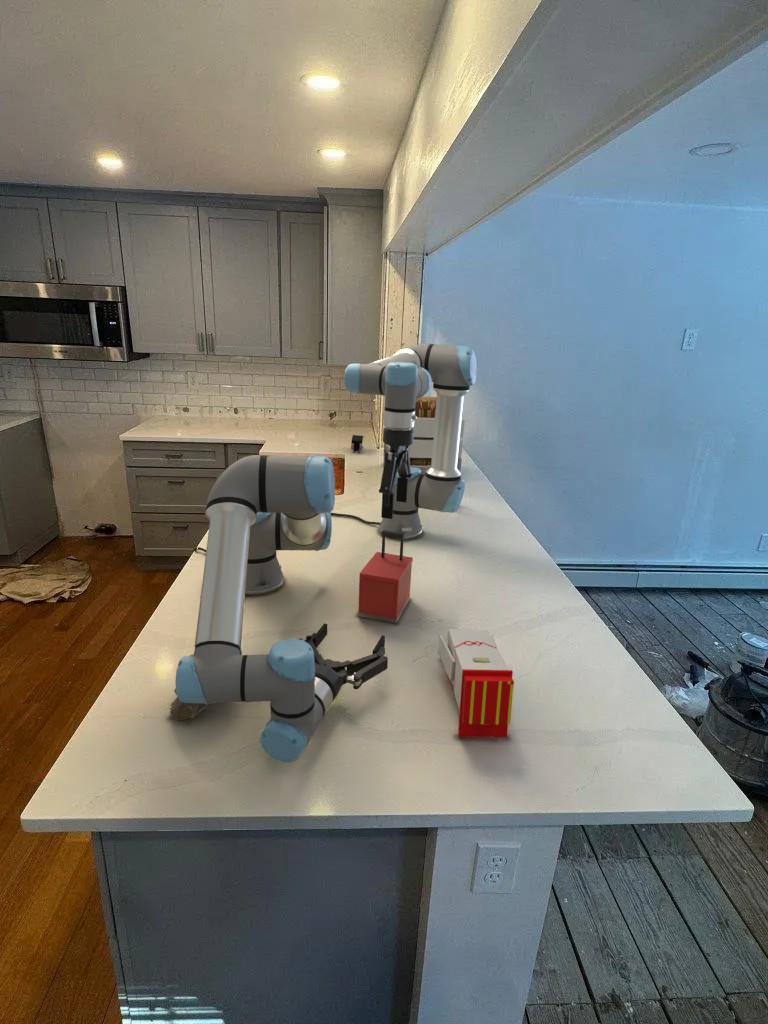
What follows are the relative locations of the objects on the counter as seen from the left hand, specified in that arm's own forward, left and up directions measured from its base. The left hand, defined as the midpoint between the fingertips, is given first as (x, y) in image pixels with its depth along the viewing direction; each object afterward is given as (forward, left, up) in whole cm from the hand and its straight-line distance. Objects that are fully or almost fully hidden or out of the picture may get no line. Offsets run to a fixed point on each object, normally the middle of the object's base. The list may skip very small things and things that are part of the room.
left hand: (354, 634), depth 126 cm
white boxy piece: (-22, +156, -6) cm, 158 cm away
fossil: (-23, -20, -6) cm, 32 cm away
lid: (0, +25, +5) cm, 26 cm away
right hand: (0, +30, +20) cm, 36 cm away
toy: (+27, -3, -6) cm, 28 cm away
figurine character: (-64, +185, -6) cm, 196 cm away
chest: (0, +25, -6) cm, 25 cm away
